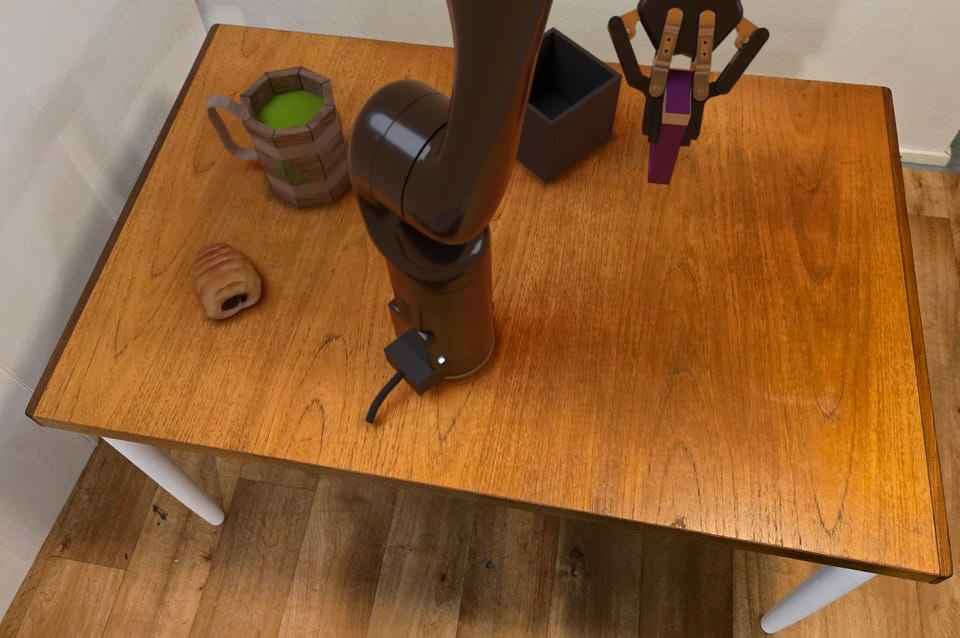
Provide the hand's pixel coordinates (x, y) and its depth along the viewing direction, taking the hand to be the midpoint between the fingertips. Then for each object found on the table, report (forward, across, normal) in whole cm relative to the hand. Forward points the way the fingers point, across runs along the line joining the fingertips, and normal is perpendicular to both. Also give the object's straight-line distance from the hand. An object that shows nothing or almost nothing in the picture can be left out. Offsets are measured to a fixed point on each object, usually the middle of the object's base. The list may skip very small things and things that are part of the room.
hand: (668, 143), depth 64 cm
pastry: (+20, -44, +9) cm, 50 cm away
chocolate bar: (+2, 0, +5) cm, 5 cm away
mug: (+8, -42, +22) cm, 48 cm away
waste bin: (+1, -12, +29) cm, 31 cm away
